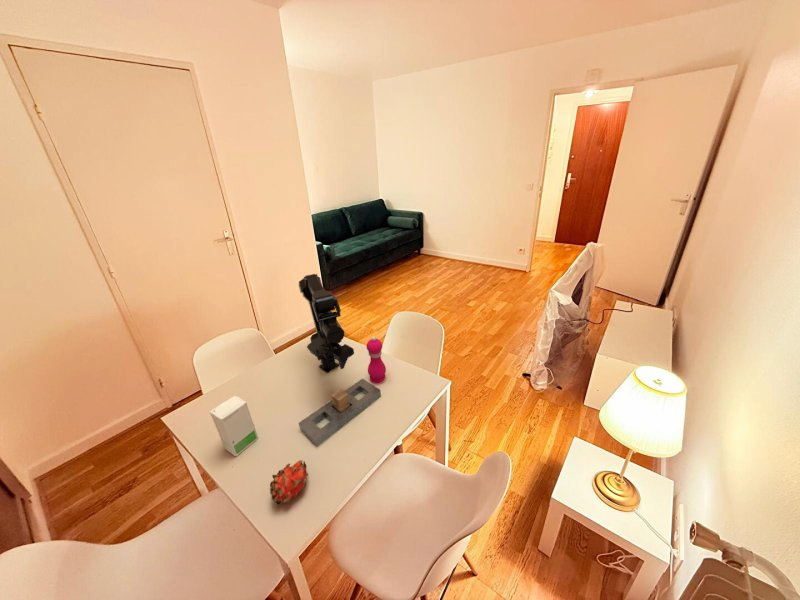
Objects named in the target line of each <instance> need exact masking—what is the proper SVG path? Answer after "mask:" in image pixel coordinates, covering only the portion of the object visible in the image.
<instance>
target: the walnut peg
mask: <svg viewBox="0 0 800 600" xmlns="http://www.w3.org/2000/svg"><path fill="white" fill-rule="evenodd" d="M344 391H345V390H343V389H341V388H340V389H339V390H336V392H334V393H333V394H331V400H332V401H333V406H334V409H335V410H336V411H338V412H339V413H340V414H341V413H342V412H343V411H345V410H346V409H347V408H349V407H350V403H349V397H348V394H347V393H346V392H344Z"/></svg>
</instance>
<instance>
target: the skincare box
mask: <svg viewBox="0 0 800 600" xmlns="http://www.w3.org/2000/svg"><path fill="white" fill-rule="evenodd" d="M209 414H210V416H211V418H212V421H213V423H214V426H215V428H216V430H217V432H218V435H219V437H220V438H219V439H220V441H221V442H222V446H223V448H224V449H225V450H226V451H228V452H229V453H230V454H232V455H233V456H234V457H238V456H239V455H240V454H241V453H242V452H244V451H245V450H246V449H248V448H249V447H250V446H251V445H253V444H254V443H255V442H256V441H257V440H259V436H258V433H257V430H256V427H255V424H254V422H253V418H252V416H251V415H252V414H251V412H250V409H249V406H248V403H247V401H245V400H243V399H242V398H240V397H238V396H236V395H233V396H232V397H231V398H229V399H227V400H226V401H223V402H221V403H220V404H219V405H218V406H216V407H214V408H213V409H212V410H210V411H209Z"/></svg>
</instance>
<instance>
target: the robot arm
mask: <svg viewBox="0 0 800 600" xmlns="http://www.w3.org/2000/svg"><path fill="white" fill-rule="evenodd" d="M298 288H299V292H300V294H301V295H302V297H303V298H304V299H305V300H306V301H307V302H308V304H309V307H310V312H311V315H312V320H313V324H314V328H315V331H316V332H315V333H313V334H312V335H311V336H310V342H309V344H308V345H307V346H306V348H307V350H308V351H309V353H311V354H312V355H313V356H314V357H315V358H316V359H317V361H320V364H319V365H318V368H319V369H320V370H322V371H323V372H324V373H326V374H328V373H330V372H332V371H333V370H334V369H336V368H338V367H339V368H340V370H343V369H344V368H345V366H346V364H347V361H348V359H349V358H350V357H352V356H353V355H354V354H355V348H353V347H352V346H351V345H348V344H346V343H345V344H343V345H341V344H340V343H342V340H343V339H344V337H345V330H344V329H343V327H342V325H340V322H339V321H338V318H339V317H341V311H342V309H341V307H340V304H339V301H338V299H337V298H336V296H334V295H333V293H332V292H331V291H328V290H326V289H325V288H324V286H323V283H322V280H321V277H319V276H318V273H312V274H307V275H304V276H303V278H302V279H301V280H299V281H298ZM336 361H337V362H336Z"/></svg>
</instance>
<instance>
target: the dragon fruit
mask: <svg viewBox="0 0 800 600" xmlns="http://www.w3.org/2000/svg"><path fill="white" fill-rule="evenodd" d="M307 469H308V468H307V463H306V462H305V460H300V459H299V460H298V461H296V462H295V463H294V464H293V465H291V463H287V464H286V465H285V466H284V468H282V469H280V470H279V471H277V473H276V474H272V478H273V480H272V481H270V484H269V487H270V488H269V493H270V496H271V500H272V501H273V502H275V503H276V504H277V506H280V505H281V504H287V503H289V501H290V500H291V499H292V498H299V497H300V491H302V490H303V489H304V487H305V484H306V480H307V477H308V476H309V474H308V473H307Z"/></svg>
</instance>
